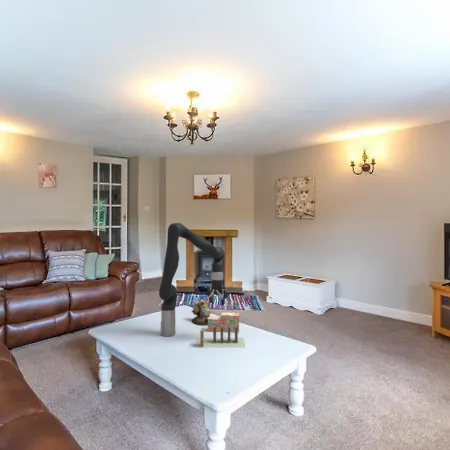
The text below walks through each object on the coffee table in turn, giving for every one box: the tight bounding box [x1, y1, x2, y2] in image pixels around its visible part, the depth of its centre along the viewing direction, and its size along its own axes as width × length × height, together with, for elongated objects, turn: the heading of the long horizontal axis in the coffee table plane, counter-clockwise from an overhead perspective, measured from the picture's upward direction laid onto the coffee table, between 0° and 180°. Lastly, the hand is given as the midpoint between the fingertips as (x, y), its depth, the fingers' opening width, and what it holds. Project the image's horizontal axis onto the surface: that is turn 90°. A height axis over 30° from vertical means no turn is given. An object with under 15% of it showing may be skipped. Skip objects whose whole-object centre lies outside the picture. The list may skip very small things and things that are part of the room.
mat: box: [194, 337, 246, 349], centre depth 203 cm, size 30×16×1 cm, turn 90°
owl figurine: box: [191, 299, 211, 327], centre depth 243 cm, size 18×12×17 cm, turn 51°
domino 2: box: [212, 325, 217, 343], centre depth 204 cm, size 2×5×10 cm, turn 0°
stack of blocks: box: [207, 312, 240, 334], centre depth 223 cm, size 21×6×12 cm, turn 84°
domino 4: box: [227, 325, 231, 343], centre depth 203 cm, size 2×5×10 cm, turn 0°
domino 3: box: [220, 325, 224, 343], centre depth 203 cm, size 2×5×10 cm, turn 0°
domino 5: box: [234, 325, 239, 343], centre depth 203 cm, size 2×5×10 cm, turn 0°
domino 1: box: [199, 327, 205, 347], centre depth 198 cm, size 2×5×10 cm, turn 0°
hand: (216, 303), depth 207 cm, fingers open, 8 cm apart
